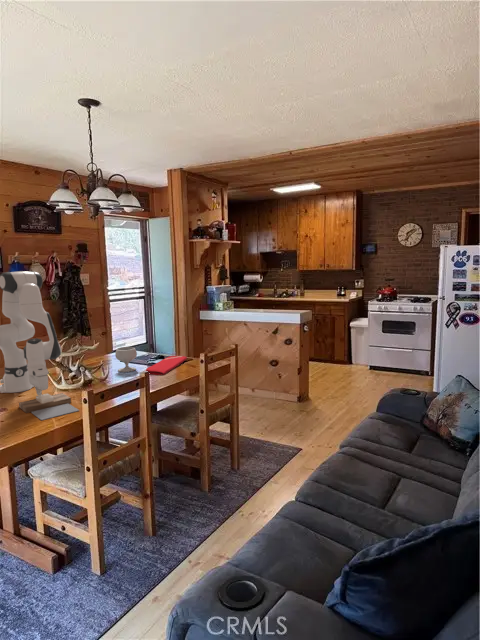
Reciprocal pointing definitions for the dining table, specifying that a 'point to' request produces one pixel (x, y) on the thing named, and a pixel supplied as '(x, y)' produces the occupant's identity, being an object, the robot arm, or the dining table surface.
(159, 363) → the dish drying mat
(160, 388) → the dining table surface
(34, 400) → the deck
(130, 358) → the chalice
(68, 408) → the mat
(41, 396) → the tile
